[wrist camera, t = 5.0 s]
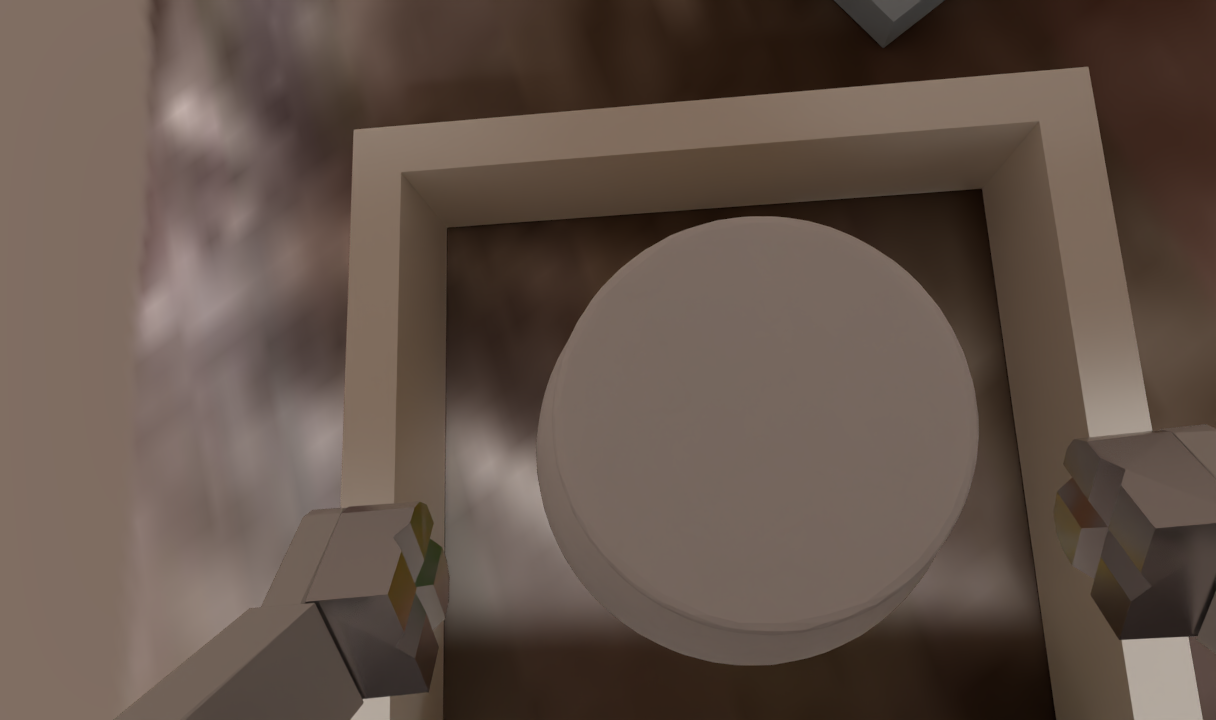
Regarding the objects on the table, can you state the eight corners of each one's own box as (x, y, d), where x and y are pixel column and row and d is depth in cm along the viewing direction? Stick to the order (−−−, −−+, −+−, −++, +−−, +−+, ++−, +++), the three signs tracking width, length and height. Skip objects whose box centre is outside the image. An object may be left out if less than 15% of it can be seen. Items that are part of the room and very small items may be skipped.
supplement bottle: (554, 420, 18) (389, 294, 8) (775, 310, 18) (870, 53, 8) (666, 655, 16) (626, 835, 7) (904, 537, 16) (1194, 553, 7)
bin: (1023, 143, 18) (1088, 66, 15) (1130, 844, 15) (1238, 923, 12) (406, 191, 19) (353, 129, 16) (393, 842, 16) (326, 912, 13)
